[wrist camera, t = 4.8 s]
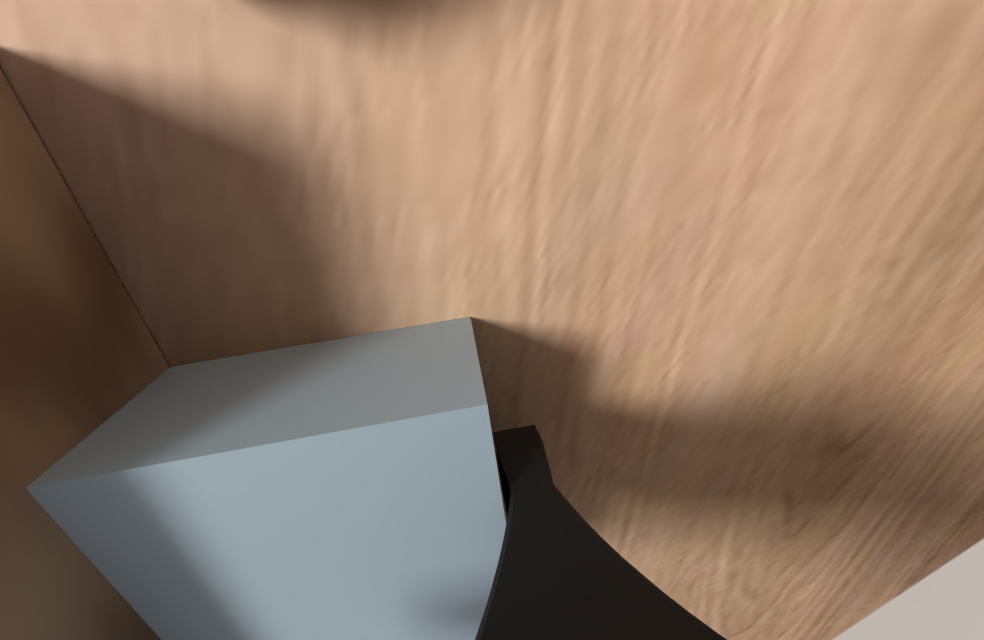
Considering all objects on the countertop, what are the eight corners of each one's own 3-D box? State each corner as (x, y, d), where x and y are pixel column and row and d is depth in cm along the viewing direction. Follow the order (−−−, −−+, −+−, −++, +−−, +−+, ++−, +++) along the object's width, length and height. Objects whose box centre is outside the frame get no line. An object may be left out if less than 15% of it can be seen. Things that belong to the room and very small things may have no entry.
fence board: (349, 685, 17) (309, 930, 12) (303, 695, 17) (243, 948, 12) (-14, 42, 7) (-1468, -288, 2) (-133, 55, 7) (-2121, -257, 2)
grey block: (502, 513, 14) (524, 640, 10) (278, 558, 14) (222, 707, 10) (470, 316, 11) (487, 404, 7) (171, 366, 10) (24, 488, 7)
